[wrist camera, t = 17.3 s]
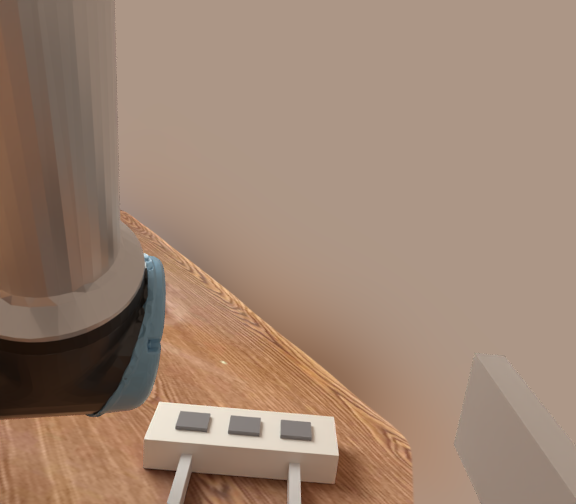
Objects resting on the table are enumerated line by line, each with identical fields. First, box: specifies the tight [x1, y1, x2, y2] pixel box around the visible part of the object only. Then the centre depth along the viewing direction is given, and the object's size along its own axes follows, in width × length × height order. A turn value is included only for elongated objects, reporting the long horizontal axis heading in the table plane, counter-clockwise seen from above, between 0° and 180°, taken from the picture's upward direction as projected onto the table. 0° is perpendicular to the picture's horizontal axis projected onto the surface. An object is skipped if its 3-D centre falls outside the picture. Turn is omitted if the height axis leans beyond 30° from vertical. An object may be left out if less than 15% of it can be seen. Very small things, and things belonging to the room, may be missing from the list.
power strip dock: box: [143, 402, 339, 504], centre depth 47 cm, size 18×16×4 cm
